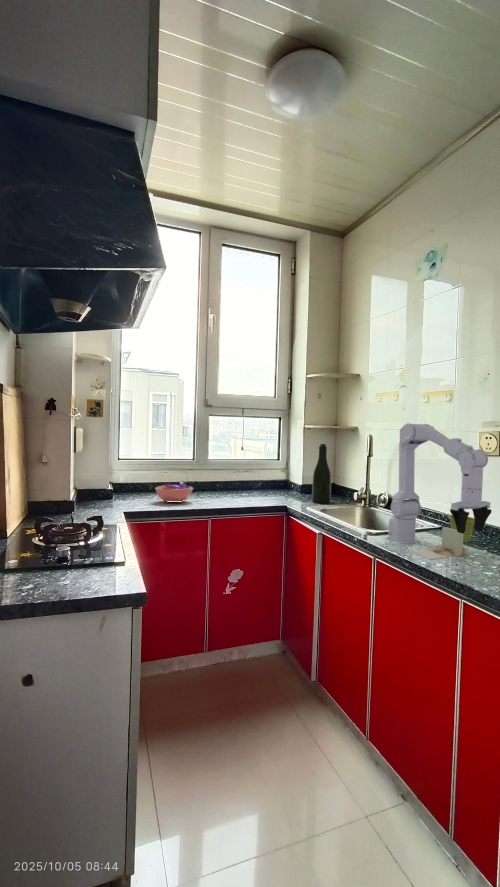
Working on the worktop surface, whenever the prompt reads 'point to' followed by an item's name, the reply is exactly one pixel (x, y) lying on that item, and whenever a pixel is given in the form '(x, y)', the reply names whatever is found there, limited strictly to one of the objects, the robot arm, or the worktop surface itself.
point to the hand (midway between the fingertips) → (469, 531)
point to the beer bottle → (322, 478)
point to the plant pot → (467, 530)
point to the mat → (427, 554)
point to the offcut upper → (441, 551)
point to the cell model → (174, 492)
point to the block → (452, 539)
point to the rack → (465, 551)
